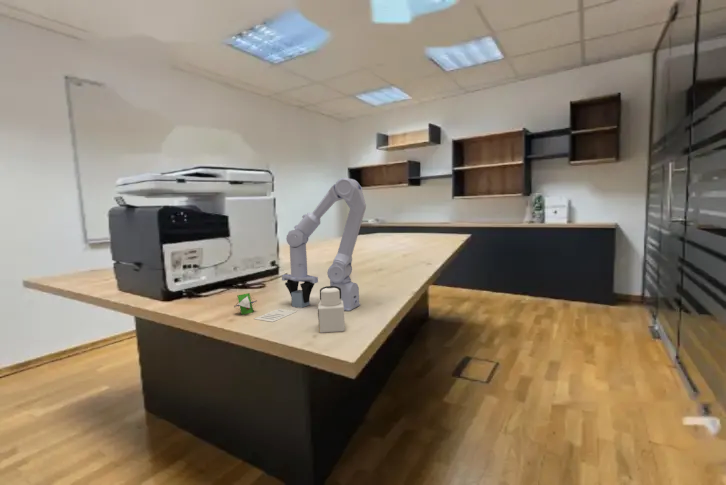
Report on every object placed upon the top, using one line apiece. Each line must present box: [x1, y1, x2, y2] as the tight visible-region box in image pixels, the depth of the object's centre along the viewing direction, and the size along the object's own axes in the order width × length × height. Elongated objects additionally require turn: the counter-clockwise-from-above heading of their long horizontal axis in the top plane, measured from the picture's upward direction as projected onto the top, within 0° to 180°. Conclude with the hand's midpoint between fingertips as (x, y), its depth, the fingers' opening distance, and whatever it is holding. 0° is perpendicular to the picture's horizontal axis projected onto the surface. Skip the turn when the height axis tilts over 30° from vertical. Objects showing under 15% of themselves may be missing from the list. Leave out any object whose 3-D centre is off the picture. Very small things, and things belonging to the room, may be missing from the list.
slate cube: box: [290, 289, 311, 309], centre depth 130 cm, size 4×4×5 cm
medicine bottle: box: [317, 285, 346, 334], centre depth 105 cm, size 7×7×12 cm
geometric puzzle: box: [233, 292, 258, 316], centre depth 123 cm, size 7×7×8 cm
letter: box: [253, 308, 298, 323], centre depth 120 cm, size 8×12×1 cm, turn 152°
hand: (300, 301), depth 130 cm, fingers closed on slate cube, 4 cm apart
